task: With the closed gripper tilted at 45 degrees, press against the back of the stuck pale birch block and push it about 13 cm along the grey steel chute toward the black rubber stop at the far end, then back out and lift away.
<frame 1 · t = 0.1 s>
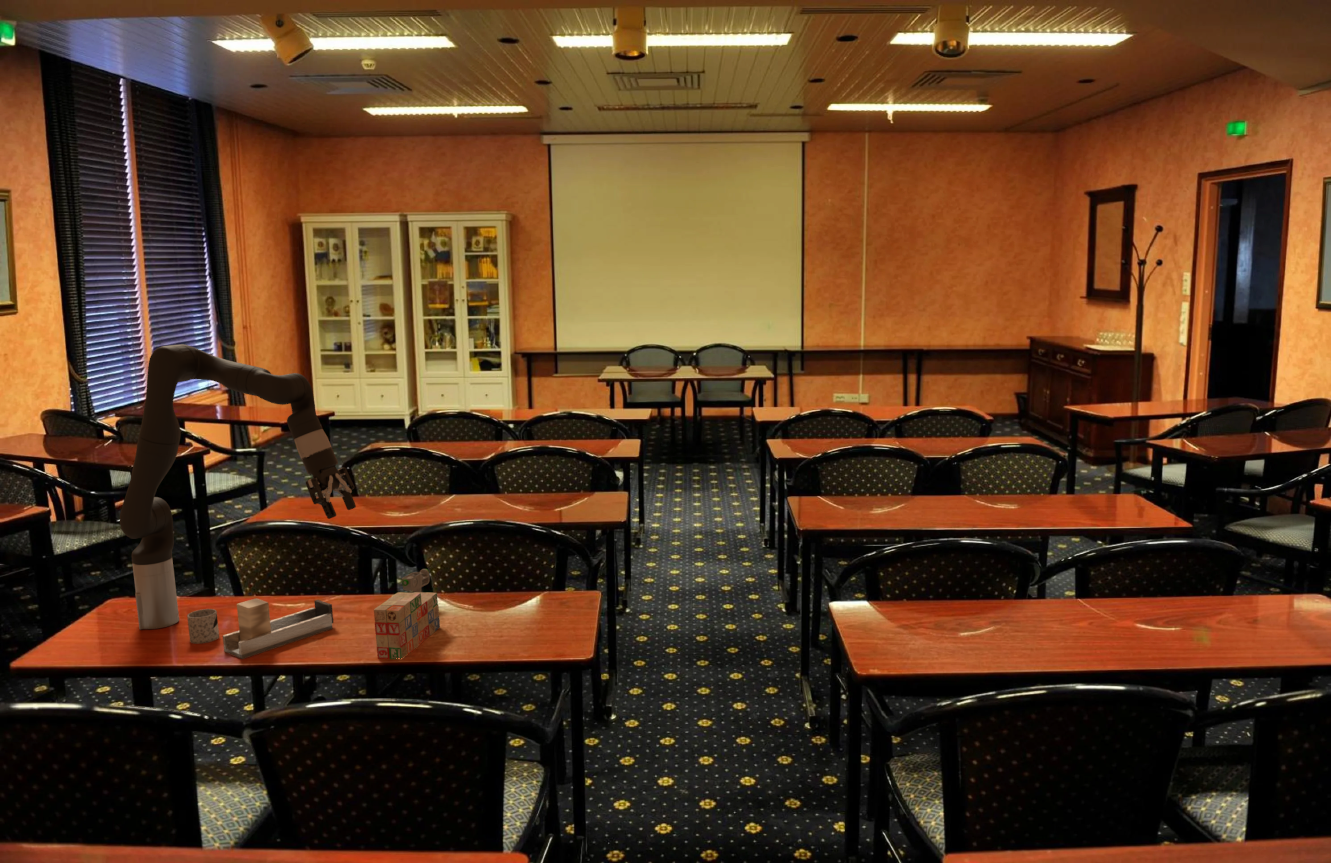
hand: (342, 513, 236), 31 cm above the table, tool tilted 20°, fingers open, 8 cm apart
mug: (203, 637, 244), on the table
birch block: (254, 622, 235), point 6 cm above the table, slide at 0.0 cm
mechanical component: (418, 610, 260), on the table
stack of blocks: (410, 643, 236), on the table
chute: (279, 639, 240), on the table
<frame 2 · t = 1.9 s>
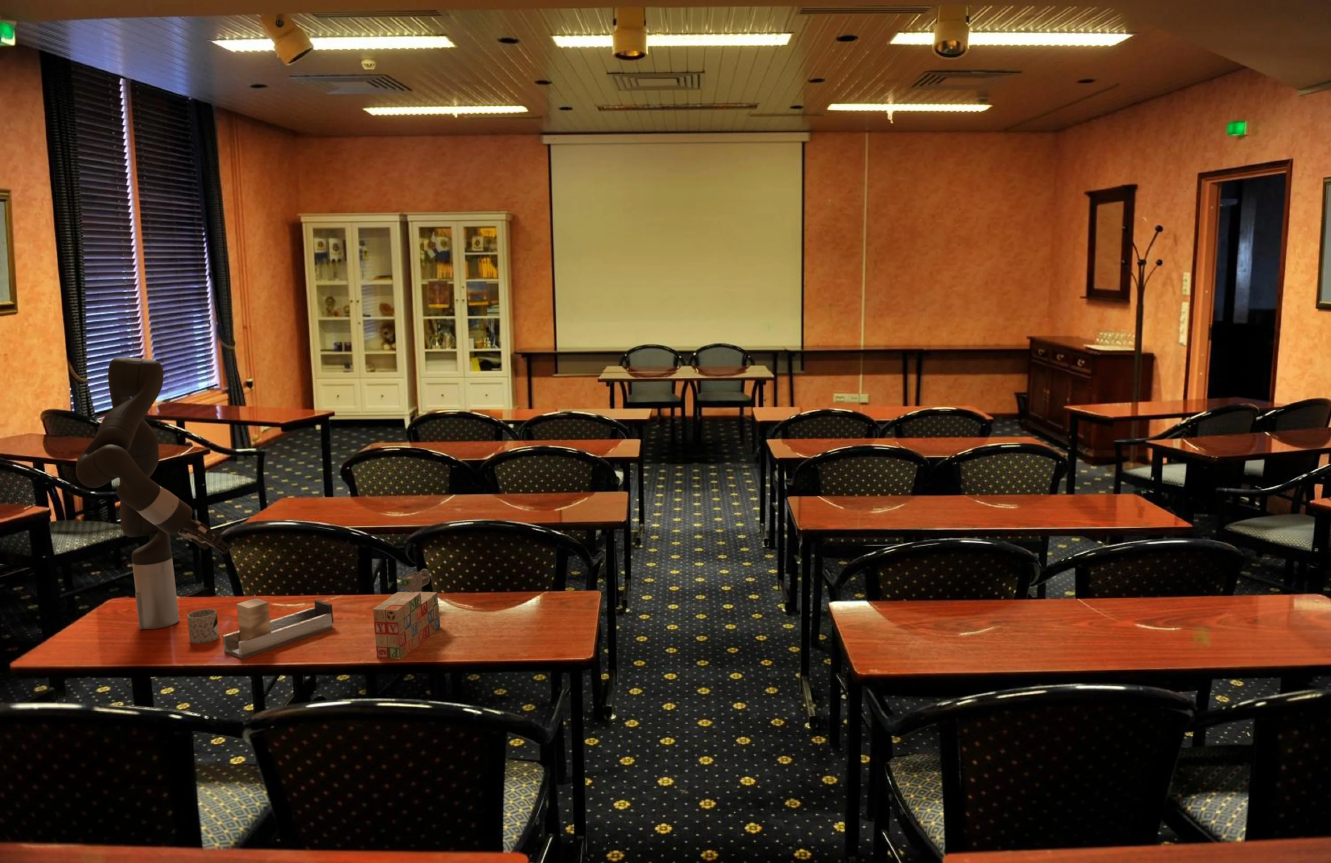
hand: (218, 548, 226), 27 cm above the table, tool tilted 45°, fingers open, 8 cm apart
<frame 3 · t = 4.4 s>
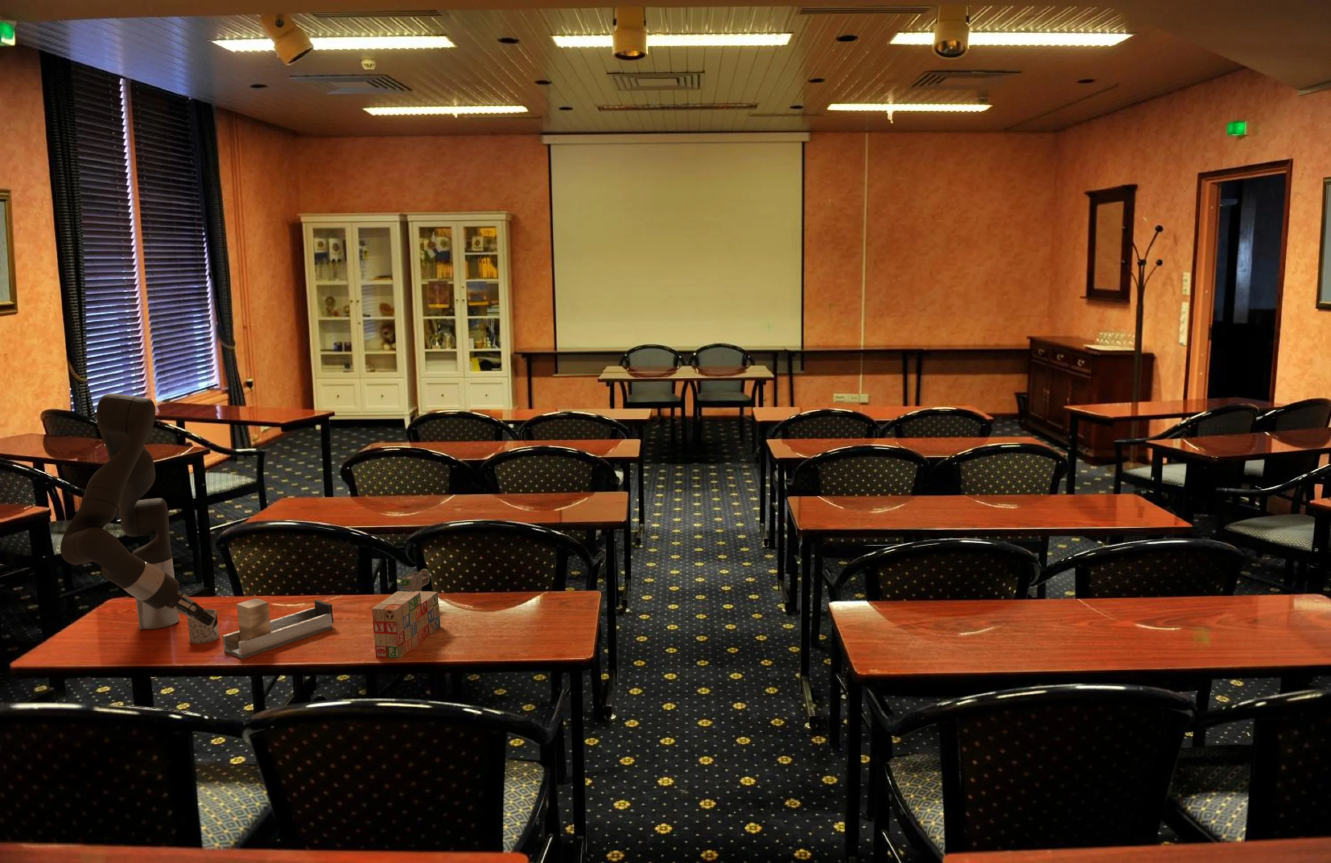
hand: (210, 621, 226), 10 cm above the table, tool tilted 45°, fingers closed
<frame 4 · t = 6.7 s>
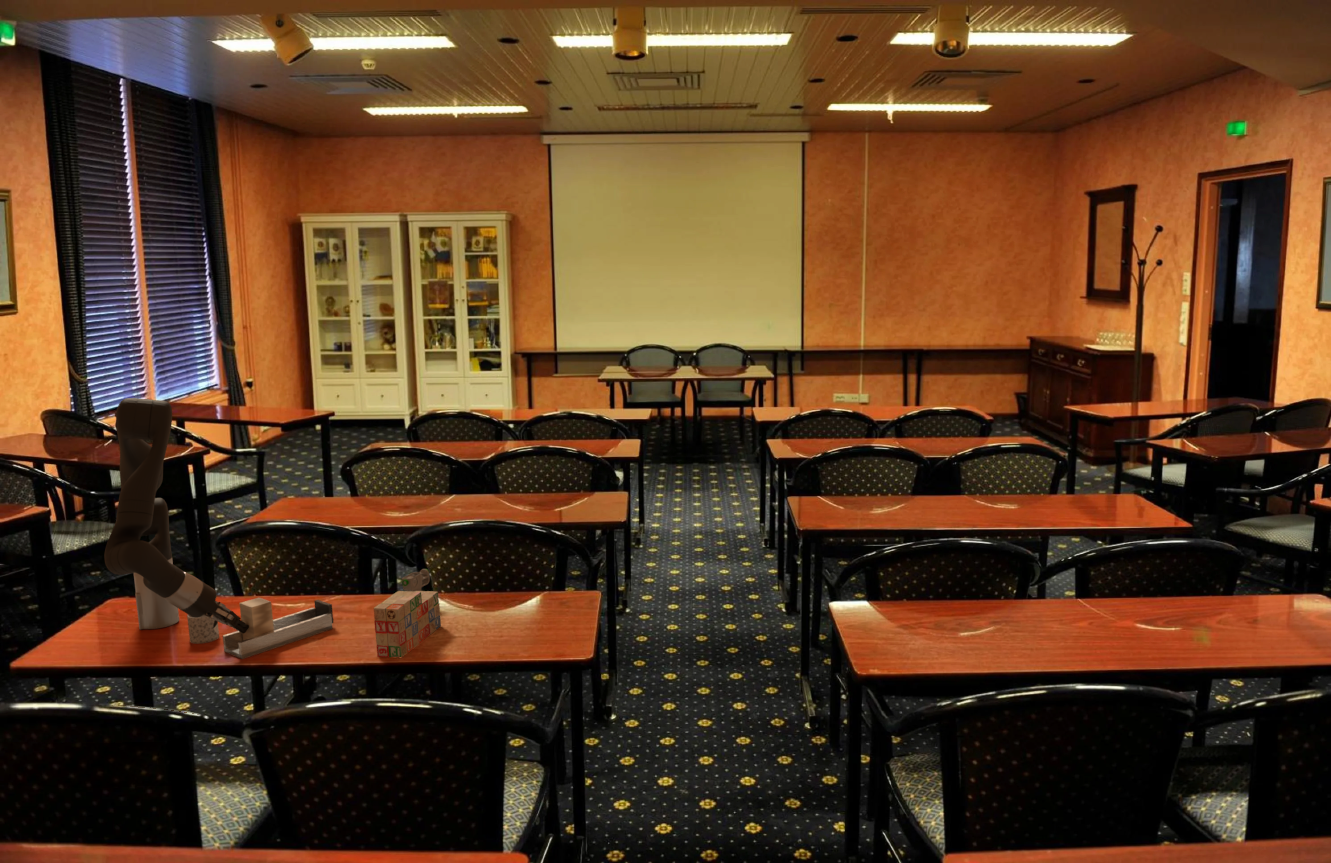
hand: (245, 629, 233), 5 cm above the table, tool tilted 45°, fingers closed
birch block: (257, 622, 235), point 6 cm above the table, slide at 0.7 cm, touching gripper
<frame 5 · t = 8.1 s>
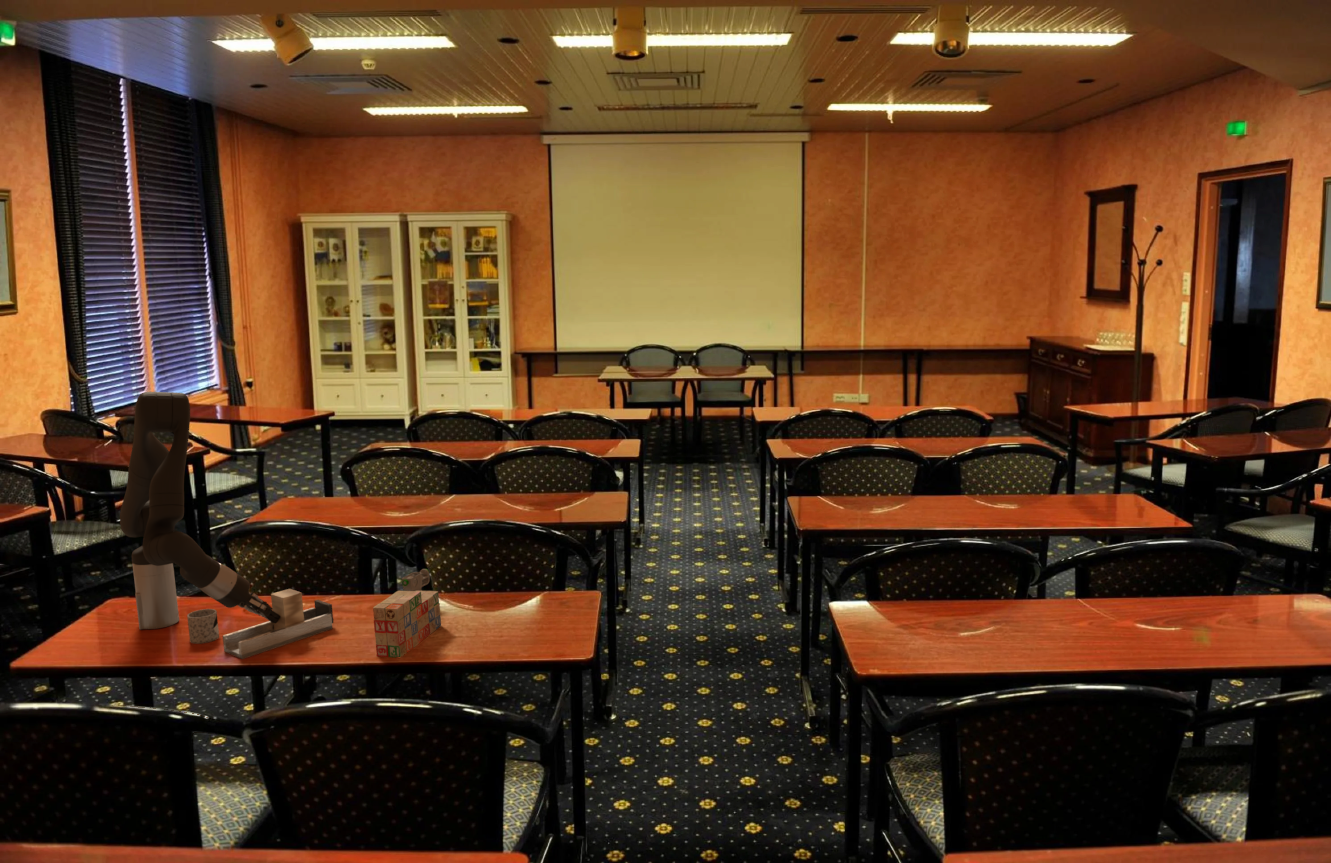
hand: (276, 619, 239), 5 cm above the table, tool tilted 45°, fingers closed
birch block: (288, 612, 242), point 6 cm above the table, slide at 8.8 cm, touching gripper
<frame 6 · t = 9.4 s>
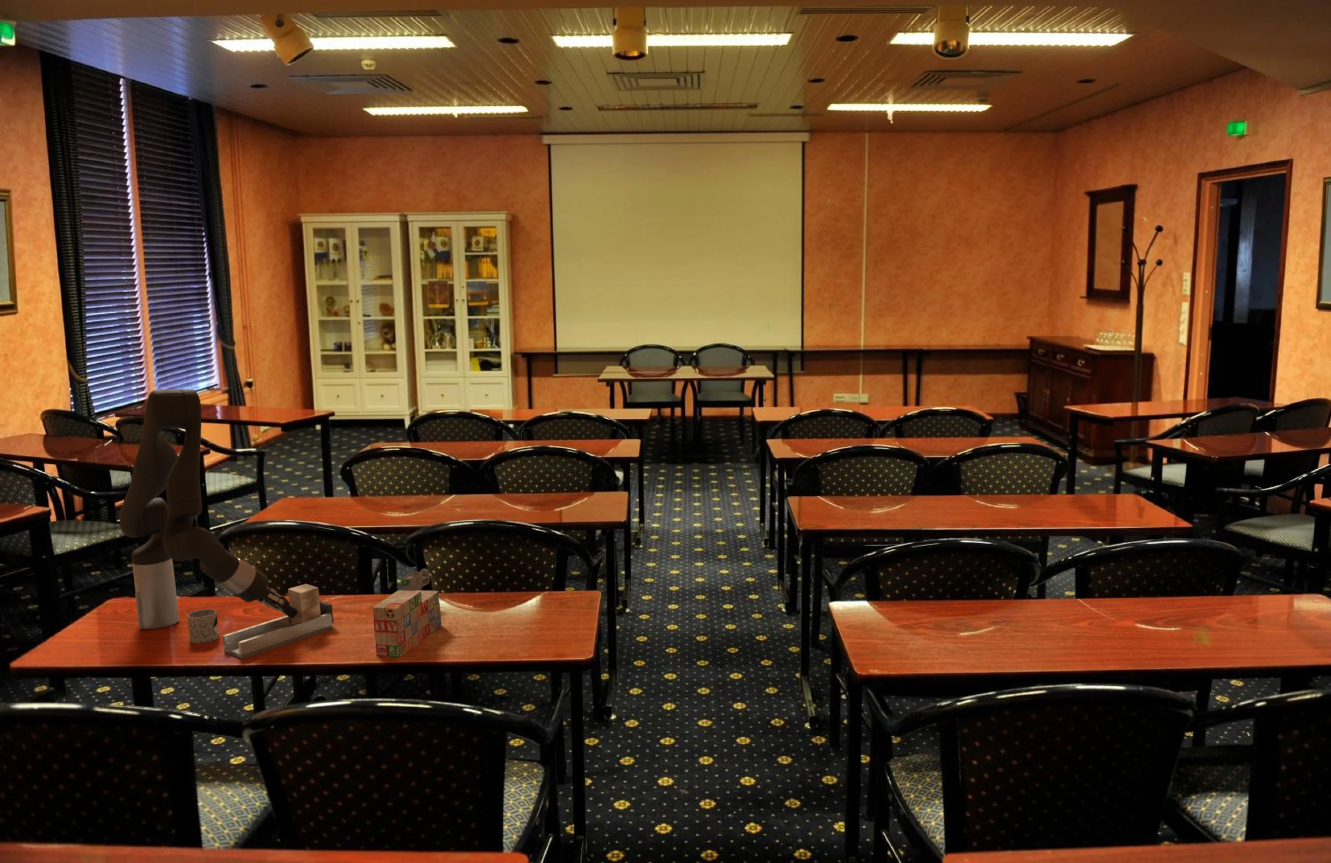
hand: (293, 614, 243), 5 cm above the table, tool tilted 45°, fingers closed
birch block: (304, 607, 245), point 6 cm above the table, slide at 13.4 cm, touching gripper
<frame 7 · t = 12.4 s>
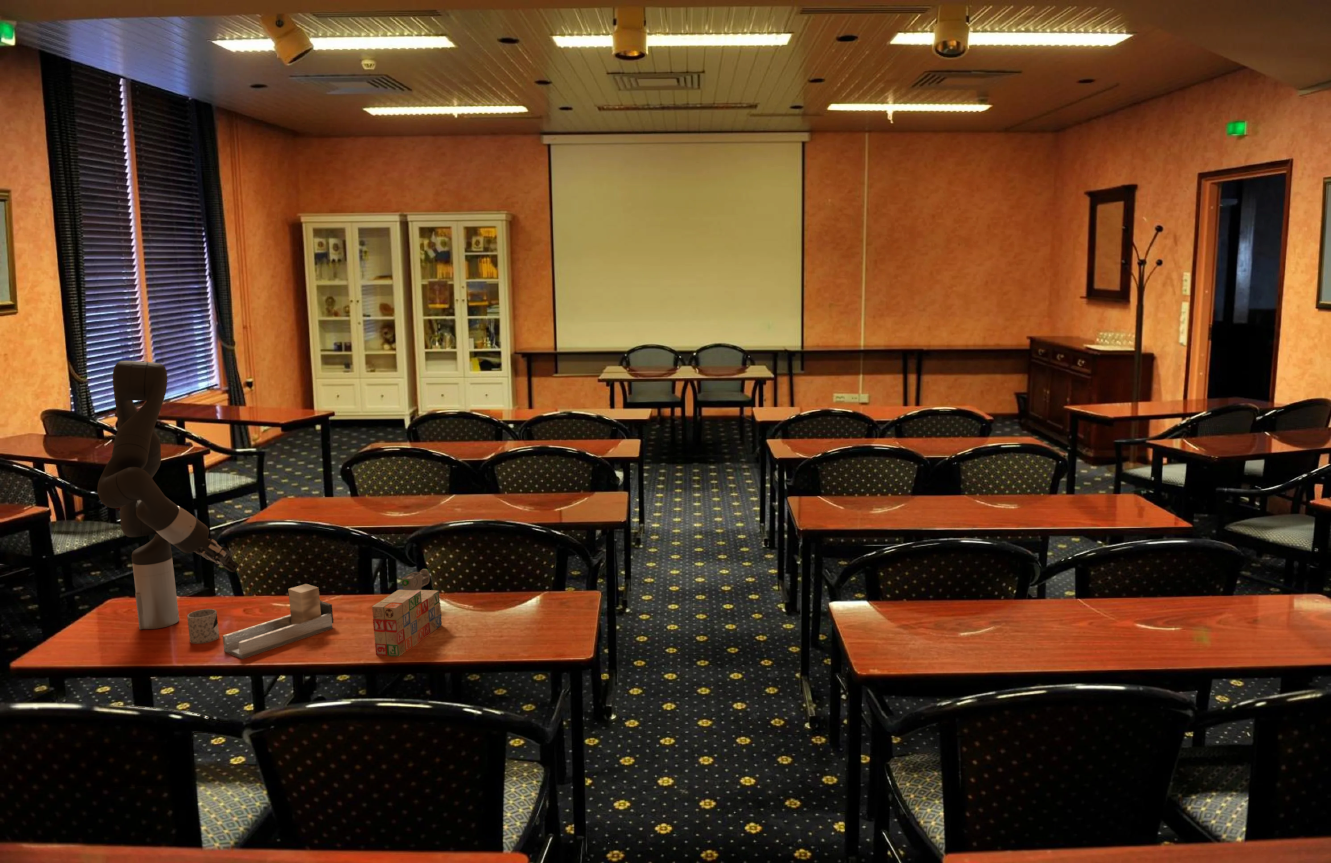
hand: (234, 568, 231), 20 cm above the table, tool tilted 45°, fingers closed
birch block: (305, 607, 245), point 6 cm above the table, slide at 13.5 cm
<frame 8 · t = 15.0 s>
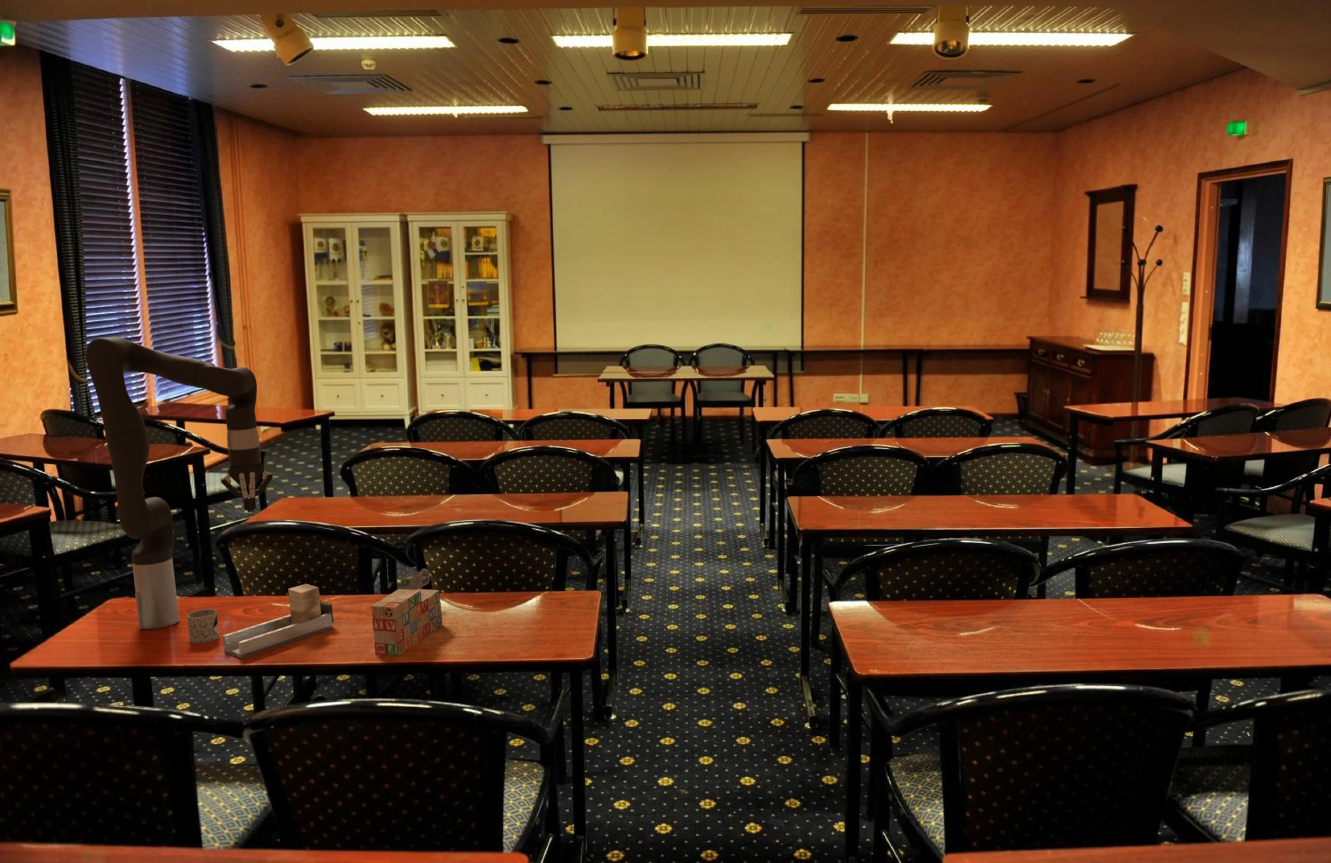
hand: (250, 511, 252), 29 cm above the table, tool pointing down, fingers closed
at the end: birch block slide at 13.5 cm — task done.
